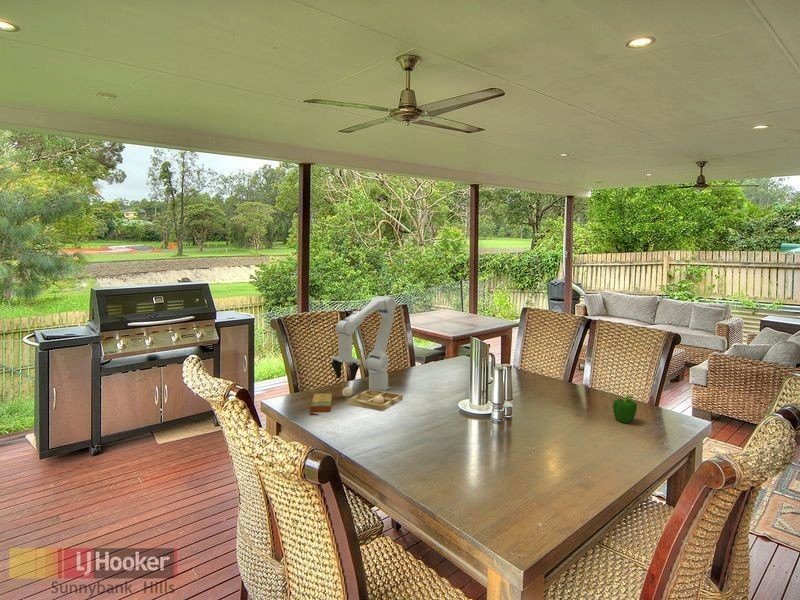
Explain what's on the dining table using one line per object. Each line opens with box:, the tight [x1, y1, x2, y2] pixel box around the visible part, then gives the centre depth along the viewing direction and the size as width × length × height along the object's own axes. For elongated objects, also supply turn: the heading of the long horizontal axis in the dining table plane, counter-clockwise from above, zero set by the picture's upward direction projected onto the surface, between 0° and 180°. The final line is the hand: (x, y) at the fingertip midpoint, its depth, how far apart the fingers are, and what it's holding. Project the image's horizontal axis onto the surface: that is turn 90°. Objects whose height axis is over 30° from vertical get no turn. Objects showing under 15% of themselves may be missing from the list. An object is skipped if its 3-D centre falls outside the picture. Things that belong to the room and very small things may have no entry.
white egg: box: [342, 386, 354, 397], centre depth 216 cm, size 5×5×5 cm
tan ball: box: [373, 395, 384, 405], centre depth 201 cm, size 5×5×5 cm
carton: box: [309, 393, 333, 416], centre depth 202 cm, size 8×16×4 cm, turn 5°
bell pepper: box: [612, 395, 638, 424], centre depth 188 cm, size 8×8×10 cm
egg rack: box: [347, 388, 404, 412], centre depth 207 cm, size 17×17×3 cm
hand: (346, 378), depth 212 cm, fingers open, 7 cm apart
